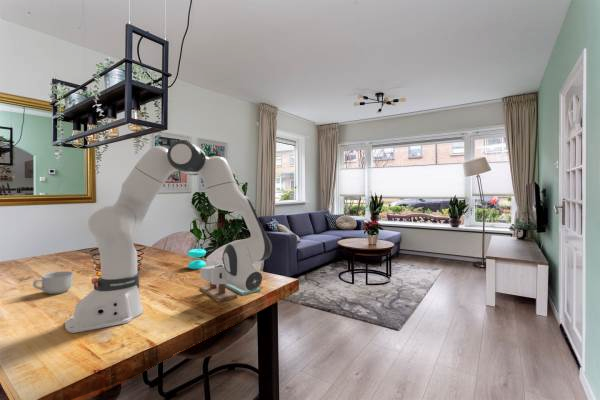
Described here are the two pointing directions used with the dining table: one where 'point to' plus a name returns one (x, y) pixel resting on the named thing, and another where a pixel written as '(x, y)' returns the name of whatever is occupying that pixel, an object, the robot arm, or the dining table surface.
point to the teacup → (55, 282)
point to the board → (241, 290)
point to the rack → (218, 292)
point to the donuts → (197, 263)
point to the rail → (213, 261)
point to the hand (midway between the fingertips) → (218, 265)
